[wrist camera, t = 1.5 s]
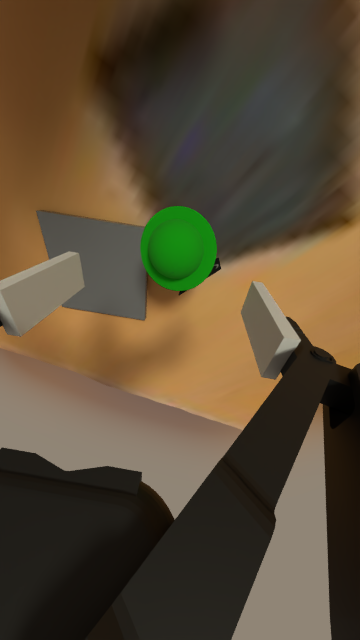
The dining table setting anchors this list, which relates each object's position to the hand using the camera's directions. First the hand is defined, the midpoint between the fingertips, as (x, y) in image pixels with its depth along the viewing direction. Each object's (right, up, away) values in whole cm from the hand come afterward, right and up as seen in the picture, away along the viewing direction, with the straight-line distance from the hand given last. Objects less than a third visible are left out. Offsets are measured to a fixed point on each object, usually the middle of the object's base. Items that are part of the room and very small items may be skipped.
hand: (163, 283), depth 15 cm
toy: (+2, +12, +16) cm, 20 cm away
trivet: (-14, +7, +22) cm, 26 cm away
